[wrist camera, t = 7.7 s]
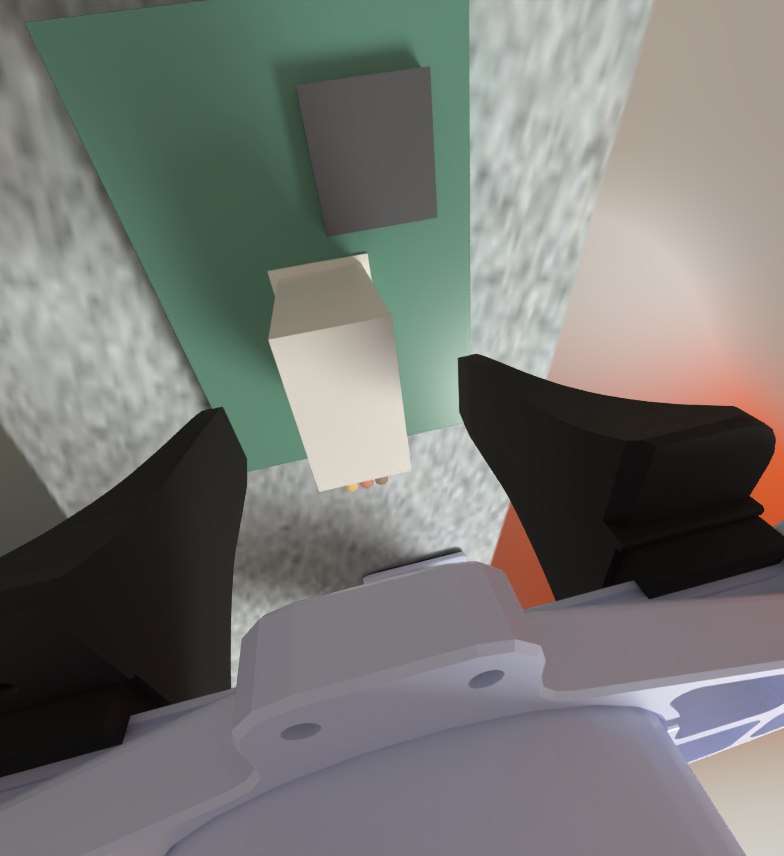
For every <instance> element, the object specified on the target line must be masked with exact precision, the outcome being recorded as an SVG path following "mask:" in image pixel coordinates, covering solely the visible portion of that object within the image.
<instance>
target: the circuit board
mask: <svg viewBox="0 0 784 856" xmlns="http://www.w3.org/2000/svg"><path fill="white" fill-rule="evenodd" d="M24 23H25V25H26V27H27V29H28V31H29V33H30V35H31V38H32V40H33V42H34V44H35V46H36V48H37V50H38V52H39V54H40V56H41V58H42V60H43V62H44V64H45V66H46V68H47V70H48V72H49V74H50V77H51V79H52V81H53V83H54V85H55V87H56V89H57V91H58V93H59V95H60V97H61V99H62V101H63V103H64V105H65V107H66V109H67V111H68V114H69V116H70V118H71V120H72V122H73V124H74V126H75V128H76V130H77V132H78V134H79V136H80V138H81V140H82V142H83V144H84V146H85V148H86V151H87V153H88V155H89V157H90V159H91V161H92V163H93V165H94V167H95V169H96V171H97V173H98V175H99V177H100V179H101V181H102V183H103V185H104V188H105V190H106V192H107V194H108V196H109V198H110V200H111V202H112V204H113V206H114V208H115V210H116V212H117V214H118V216H119V218H120V220H121V222H122V225H123V227H124V229H125V231H126V233H127V235H128V237H129V239H130V241H131V243H132V245H133V247H134V249H135V251H136V253H137V255H138V257H139V259H140V261H141V264H142V266H143V268H144V270H145V272H146V274H147V276H148V278H149V280H150V282H151V284H152V286H153V288H154V290H155V292H156V294H157V296H158V298H159V301H160V303H161V305H162V307H163V309H164V311H165V313H166V315H167V317H168V319H169V321H170V323H171V325H172V327H173V329H174V331H175V333H176V335H177V338H178V340H179V342H180V344H181V346H182V348H183V350H184V352H185V354H186V356H187V358H188V360H189V362H190V364H191V366H192V368H193V370H194V372H195V375H196V377H197V379H198V381H199V383H200V385H201V387H202V389H203V391H204V393H205V395H206V397H207V399H208V401H209V403H210V405H211V407H212V409H214V408H218V407H223V408H224V410H225V412H226V414H227V416H228V418H229V421H230V423H231V425H232V427H233V429H234V431H235V434H236V436H237V438H238V440H239V442H240V444H241V447H242V449H243V451H244V453H245V455H246V457H247V472H248V471H253V470H257V469H262V468H266V467H270V466H275V465H279V464H284V463H288V462H293V461H297V460H302V459H306V458H308V457H307V454H306V451H305V448H304V445H303V442H302V439H301V436H300V433H299V430H298V427H297V424H296V421H295V418H294V415H293V412H292V409H291V406H290V403H289V400H288V397H287V394H286V391H285V388H284V385H283V382H282V379H281V376H280V373H279V370H278V367H277V364H276V361H275V358H274V355H273V352H272V349H271V346H270V343H269V340H268V338H269V332H270V326H271V320H272V314H273V307H274V301H275V295H276V289H277V283H278V278H283V277H289V276H294V275H300V274H306V273H311V272H317V271H322V270H328V269H333V268H339V267H344V266H350V265H356V264H361V263H362V265H363V267H364V269H365V270H366V272H367V274H368V276H369V277H370V279H371V281H372V282H373V284H374V286H375V288H376V289H377V291H378V293H379V295H380V296H381V298H382V300H383V301H384V303H385V305H386V307H387V308H388V310H389V312H390V314H391V315H392V321H393V329H394V337H395V345H396V353H397V361H398V369H399V377H400V385H401V392H402V400H403V408H404V416H405V424H406V432H407V436H409V435H414V434H418V433H423V432H427V431H432V430H436V429H441V428H445V427H450V426H454V425H458V424H463V423H464V422H463V420H462V418H461V415H460V413H459V391H458V358H459V357H463V356H468V355H470V131H469V0H206V1H198V2H189V3H181V4H173V5H164V6H156V7H148V8H139V9H131V10H123V11H114V12H106V13H98V14H90V15H81V16H73V17H65V18H56V19H48V20H40V21H31V22H24Z"/></svg>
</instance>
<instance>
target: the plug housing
mask: <svg viewBox="0 0 784 856" xmlns="http://www.w3.org/2000/svg"><path fill="white" fill-rule="evenodd" d="M268 340H269V343H270V346H271V349H272V352H273V355H274V358H275V361H276V364H277V367H278V370H279V373H280V376H281V379H282V382H283V385H284V388H285V391H286V394H287V397H288V400H289V403H290V406H291V409H292V412H293V415H294V418H295V421H296V424H297V427H298V430H299V433H300V436H301V439H302V442H303V445H304V448H305V451H306V454H307V457H308V460H309V463H310V466H311V469H312V472H313V475H314V478H315V481H316V483H317V486H318V489H319V492H321V491H325V490H329V489H334V488H338V487H342V486H345V488H346V490H347V491H355V490H356V489H357V488H358V483H360V484H361V486H362V487H363V488H369V487H371V486H372V485H373V479H375V481H376V483H377V484H380V485H381V484H385V483H386V482H387V481H388V477H387V476H390V475H395V474H399V473H403V472H408V471H411V464H410V456H409V448H408V440H407V432H406V424H405V416H404V408H403V400H402V392H401V385H400V377H399V369H398V361H397V353H396V345H395V337H394V329H393V321H392V315H391V314H390V312H389V310H388V308H387V307H386V305H385V303H384V301H383V300H382V298H381V296H380V295H379V293H378V291H377V289H376V288H375V286H374V284H373V282H372V281H371V279H370V277H369V276H368V274H367V272H366V270H365V269H364V267H363V265H362V263H361V264H356V265H350V266H344V267H339V268H333V269H328V270H322V271H317V272H311V273H306V274H300V275H294V276H289V277H283V278H278V283H277V289H276V295H275V301H274V307H273V314H272V320H271V326H270V332H269V338H268Z"/></svg>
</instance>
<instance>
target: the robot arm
mask: <svg viewBox="0 0 784 856" xmlns="http://www.w3.org/2000/svg"><path fill="white" fill-rule="evenodd" d="M458 391H459V413H460V415H461V418H462V420H463V422H464V425H465V427H466V429H467V431H468V433H469V435H470V437H471V439H472V440H473V442H474V444H475V445H476V447H477V448H478V450H479V451H480V453H481V455H482V456H483V458H484V459H485V461H486V462H487V464H488V465H489V467H490V468H491V470H492V471H493V473H494V474H495V476H496V478H497V479H498V481H499V482H500V484H501V485H502V487H503V488H504V490H505V492H506V494H507V495H508V497H509V499H510V501H511V503H512V505H513V507H514V509H515V511H516V513H517V515H518V517H519V519H520V521H521V523H522V525H523V527H524V529H525V531H526V534H527V536H528V538H529V540H530V542H531V544H532V547H533V549H534V551H535V553H536V555H537V558H538V560H539V562H540V565H541V567H542V569H543V571H544V574H545V576H546V578H547V581H548V583H549V585H550V588H551V590H552V593H553V595H554V598H555V600H556V601H555V602H552V603H548V604H544V605H540V606H537V607H533V608H529V609H526V610H523V609H522V607H521V605H520V603H519V601H518V599H517V597H516V595H515V593H514V591H513V589H512V587H511V585H510V583H509V581H508V579H507V577H506V575H505V573H504V571H502V570H499V569H497V568H494V567H491V566H489V565H486V564H483V563H480V562H476V561H471V562H467V557H466V555H465V553H464V552H458V553H454V554H450V555H446V556H442V557H438V558H434V559H430V560H426V561H422V562H418V563H414V564H410V565H406V566H402V567H398V568H395V569H391V570H387V571H383V572H379V573H375V574H371V575H367V576H365V577H364V578H363V585H360V586H356V587H352V588H348V589H344V590H340V591H336V592H332V593H328V594H324V595H320V596H317V597H313V598H309V599H305V600H301V601H297V602H294V603H291V604H289V605H287V606H284V607H282V608H280V609H277V610H275V611H273V612H270V613H268V614H266V615H264V616H263V617H262V618H260V619H259V620H258V621H257V622H256V624H255V625H254V626H253V627H252V628H251V629H250V630H249V631H248V633H247V634H246V635H245V636H244V637H243V638H242V642H241V651H240V659H239V668H238V676H237V685H236V688H232V689H231V606H232V584H233V567H234V558H235V551H236V545H237V539H238V534H239V528H240V523H241V518H242V512H243V506H244V501H245V495H246V488H247V457H246V455H245V453H244V451H243V449H242V447H241V444H240V442H239V440H238V438H237V436H236V434H235V431H234V429H233V427H232V425H231V423H230V421H229V418H228V416H227V414H226V412H225V410H224V408H223V407H218V408H214V409H209V410H204V411H201V412H200V413H199V414H197V415H196V416H195V417H194V418H192V419H191V420H190V421H189V422H188V423H187V424H186V425H185V426H184V427H183V428H182V429H180V430H179V431H178V432H177V433H176V434H175V435H174V436H173V437H172V438H171V439H170V440H169V441H168V442H167V443H166V444H164V445H163V446H162V447H161V448H160V449H159V450H158V451H157V452H156V453H155V454H153V455H152V456H151V457H150V458H149V459H148V460H147V461H145V462H144V463H143V464H142V465H141V466H140V467H138V468H137V469H136V470H135V471H134V472H133V473H132V474H130V475H129V476H128V477H127V478H125V479H124V480H123V481H122V482H120V483H119V484H118V485H116V486H115V487H114V488H112V489H111V490H110V491H108V492H107V493H105V494H104V495H103V496H101V497H100V498H99V499H97V500H96V501H94V502H93V503H91V504H90V505H88V506H87V507H85V508H84V509H82V510H81V511H79V512H77V513H76V514H74V515H73V516H71V517H70V518H68V519H66V520H65V521H63V522H62V523H60V524H58V525H57V526H55V527H54V528H52V529H50V530H49V531H47V532H45V533H44V534H42V535H40V536H38V537H37V538H35V539H33V540H31V541H30V542H28V543H26V544H24V545H22V546H20V547H19V548H17V549H15V550H13V551H11V552H9V553H7V554H6V555H4V556H2V557H0V856H746V855H745V853H744V851H743V850H742V848H741V847H740V845H739V844H738V842H737V841H736V839H735V837H734V836H733V834H732V833H731V831H730V829H729V828H728V826H727V825H726V823H725V822H724V820H723V818H722V817H721V815H720V814H719V813H718V811H717V809H716V807H715V806H714V804H713V803H712V801H711V800H710V798H709V797H708V795H707V793H706V792H705V790H704V789H703V787H702V786H701V784H700V782H699V781H698V780H697V778H696V776H695V775H694V773H693V772H692V770H691V768H690V767H689V765H688V764H690V763H692V762H695V761H697V760H700V759H703V758H705V757H708V756H711V755H713V754H716V753H719V752H721V751H723V750H726V749H729V748H731V747H734V746H737V745H740V744H742V743H745V742H747V741H750V740H753V739H755V738H758V737H761V736H763V735H766V734H769V733H771V732H774V731H776V730H779V729H782V728H784V520H783V521H781V522H779V523H778V524H776V525H775V526H774V527H772V526H771V525H769V524H768V523H767V522H765V521H764V520H763V519H762V518H760V517H759V516H758V515H761V514H762V513H763V512H764V508H763V506H762V505H761V504H760V503H758V502H757V501H756V500H754V499H753V498H751V497H750V494H751V492H752V491H753V489H754V488H755V486H756V484H757V483H758V481H759V479H760V478H761V476H762V474H763V473H764V471H765V470H766V468H767V466H768V464H769V463H770V460H771V458H772V456H773V454H774V449H775V443H776V438H775V435H774V432H773V429H772V428H770V427H769V426H768V425H766V424H765V423H763V422H761V421H759V420H758V419H756V418H754V417H753V416H751V415H749V414H748V413H746V412H744V411H742V410H741V409H739V408H737V407H734V406H713V405H712V406H711V405H682V404H669V403H658V402H647V401H640V400H632V399H631V400H630V399H625V398H619V397H613V396H607V395H601V394H596V393H591V392H587V391H583V390H579V389H575V388H571V387H567V386H564V385H560V384H557V383H554V382H551V381H548V380H545V379H542V378H539V377H536V376H533V375H531V374H528V373H525V372H523V371H520V370H518V369H515V368H513V367H510V366H508V365H505V364H503V363H501V362H498V361H496V360H493V359H491V358H488V357H485V356H482V355H479V354H473V355H468V356H463V357H459V358H458Z"/></svg>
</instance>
